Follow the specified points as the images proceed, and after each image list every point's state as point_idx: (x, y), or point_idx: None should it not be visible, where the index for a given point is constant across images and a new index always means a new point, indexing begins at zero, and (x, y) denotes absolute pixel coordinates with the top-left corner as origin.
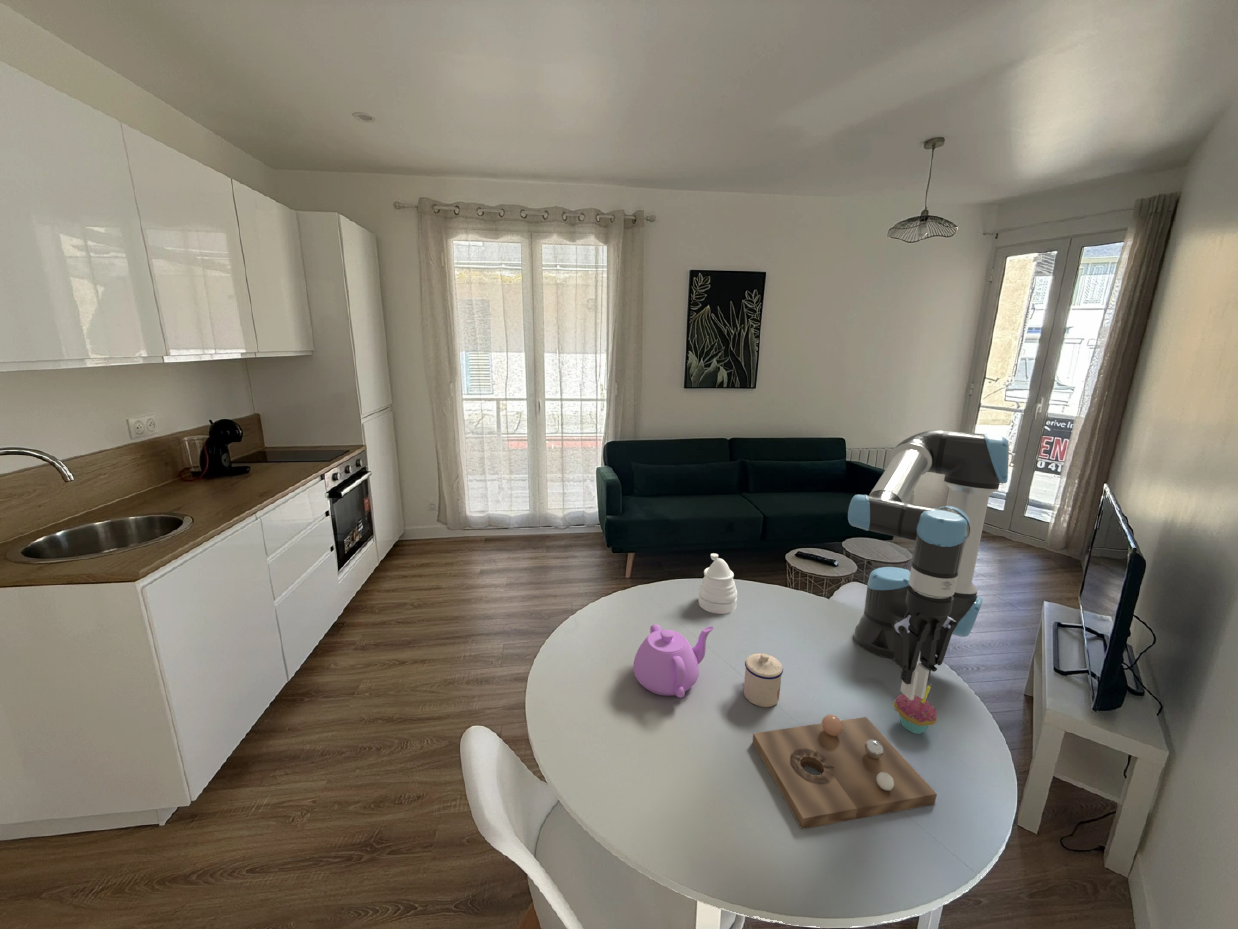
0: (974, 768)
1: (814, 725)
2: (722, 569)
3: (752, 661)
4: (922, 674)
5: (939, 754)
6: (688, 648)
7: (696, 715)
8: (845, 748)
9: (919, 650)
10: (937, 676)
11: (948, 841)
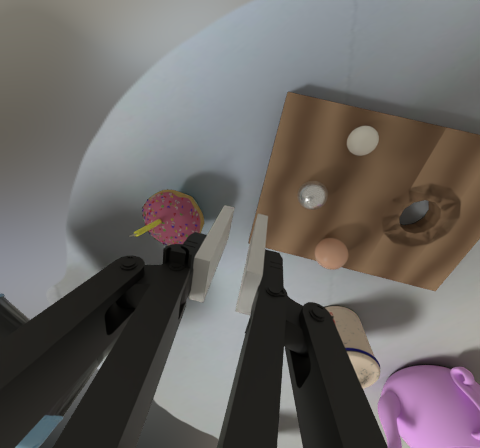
0: (164, 116)
1: None
2: None
3: (365, 385)
4: (215, 256)
5: (192, 157)
6: (440, 439)
7: (446, 336)
8: (336, 218)
9: (243, 395)
10: (78, 248)
11: (337, 28)
